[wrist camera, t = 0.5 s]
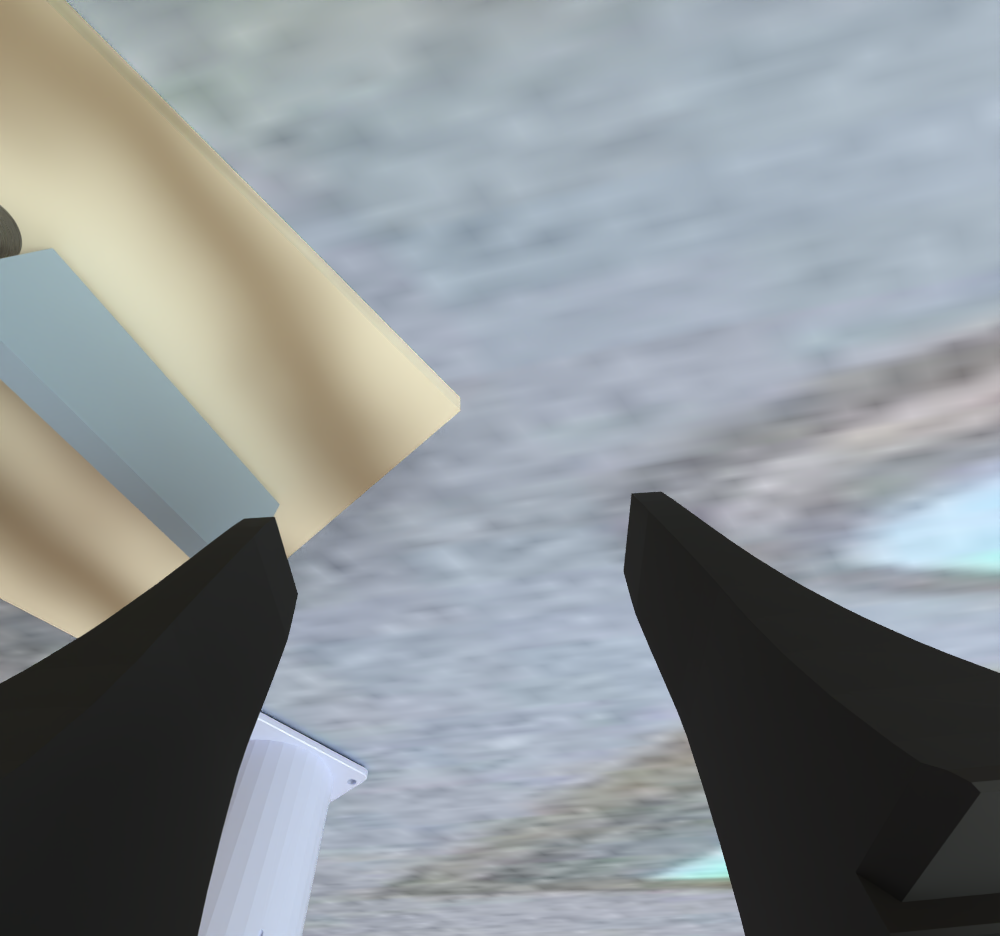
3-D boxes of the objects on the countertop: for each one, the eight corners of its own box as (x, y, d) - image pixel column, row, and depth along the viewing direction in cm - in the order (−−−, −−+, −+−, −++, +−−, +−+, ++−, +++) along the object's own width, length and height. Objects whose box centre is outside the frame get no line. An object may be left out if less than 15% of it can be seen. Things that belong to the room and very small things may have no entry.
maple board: (162, 654, 25) (149, 675, 24) (-261, 426, 18) (-304, 441, 17) (460, 397, 20) (460, 411, 19) (12, -53, 13) (-26, -72, 12)
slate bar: (32, 261, 15) (-95, 290, 12) (52, 248, 15) (-69, 272, 12) (262, 513, 20) (220, 586, 16) (279, 504, 20) (241, 576, 16)
